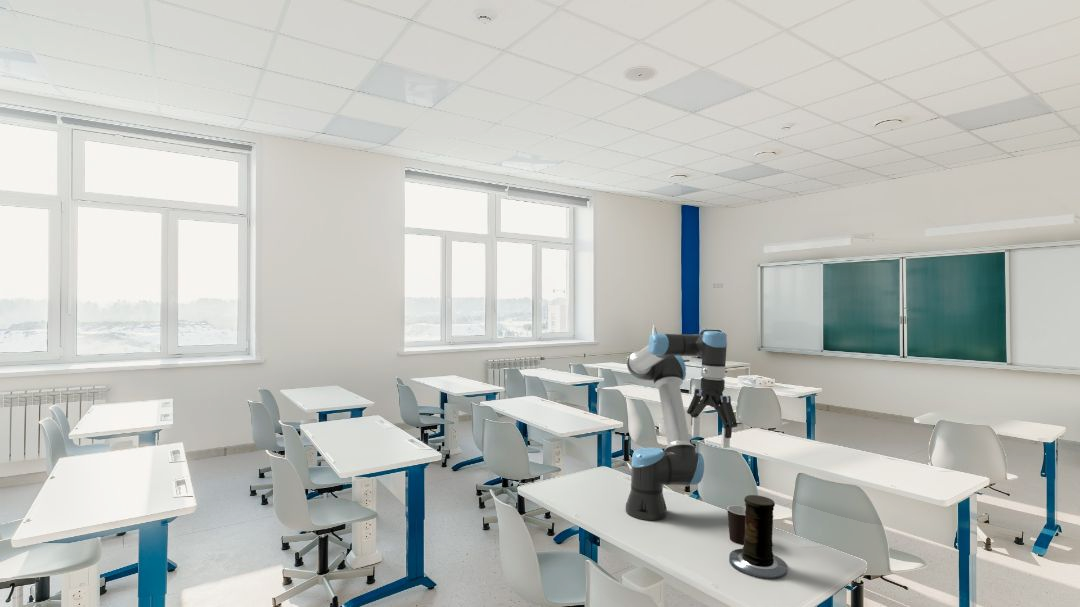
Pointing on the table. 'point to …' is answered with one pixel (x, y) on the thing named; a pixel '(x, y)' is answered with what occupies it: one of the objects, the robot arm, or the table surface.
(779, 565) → the dark gray plate
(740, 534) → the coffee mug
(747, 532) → the container
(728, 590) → the table surface
